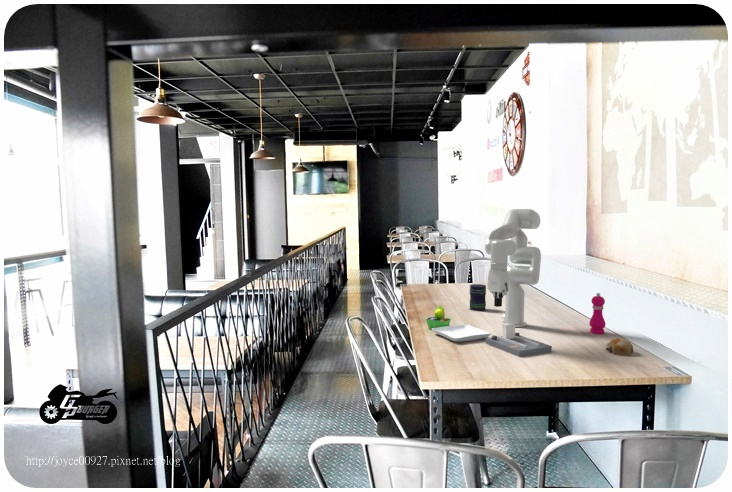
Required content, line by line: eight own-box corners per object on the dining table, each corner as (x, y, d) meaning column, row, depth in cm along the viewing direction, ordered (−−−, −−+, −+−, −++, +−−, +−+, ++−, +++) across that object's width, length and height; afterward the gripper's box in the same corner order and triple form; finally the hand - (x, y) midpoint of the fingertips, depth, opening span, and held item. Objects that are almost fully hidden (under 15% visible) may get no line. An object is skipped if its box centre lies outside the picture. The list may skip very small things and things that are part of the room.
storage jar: (487, 311, 291) (487, 286, 290) (471, 311, 291) (471, 286, 290) (483, 307, 301) (484, 284, 300) (467, 307, 301) (468, 284, 300)
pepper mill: (607, 334, 235) (608, 294, 234) (591, 334, 236) (592, 293, 235) (602, 331, 242) (604, 291, 241) (587, 330, 244) (588, 291, 242)
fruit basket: (425, 329, 247) (425, 307, 246) (431, 325, 255) (431, 304, 254) (446, 331, 242) (446, 309, 241) (452, 327, 250) (452, 306, 249)
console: (485, 343, 220) (485, 335, 220) (516, 339, 227) (516, 331, 227) (519, 356, 200) (519, 347, 200) (551, 351, 207) (551, 342, 207)
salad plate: (430, 334, 238) (430, 327, 238) (466, 330, 246) (466, 323, 246) (454, 345, 219) (454, 337, 218) (492, 340, 227) (492, 333, 227)
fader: (501, 338, 219) (502, 324, 219) (511, 337, 221) (511, 322, 221) (505, 339, 217) (506, 325, 216) (515, 338, 219) (515, 324, 218)
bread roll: (627, 365, 200) (637, 349, 198) (602, 351, 205) (612, 335, 203) (628, 358, 209) (638, 343, 207) (605, 345, 213) (614, 330, 211)
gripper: (482, 266, 229) (481, 304, 230) (503, 269, 215) (502, 309, 216) (494, 265, 232) (494, 303, 233) (516, 268, 218) (515, 308, 219)
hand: (498, 306), depth 224 cm, fingers closed
